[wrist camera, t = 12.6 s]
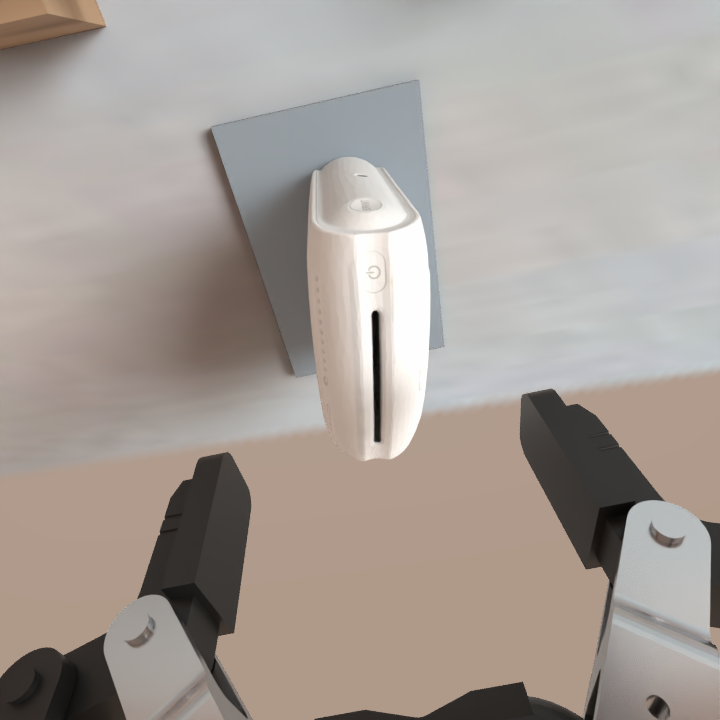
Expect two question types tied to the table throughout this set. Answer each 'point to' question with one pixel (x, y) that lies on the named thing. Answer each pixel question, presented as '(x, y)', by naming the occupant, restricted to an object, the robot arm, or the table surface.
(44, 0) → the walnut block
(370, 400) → the photo printer
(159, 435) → the table surface
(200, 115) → the table surface
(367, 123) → the slate mat
